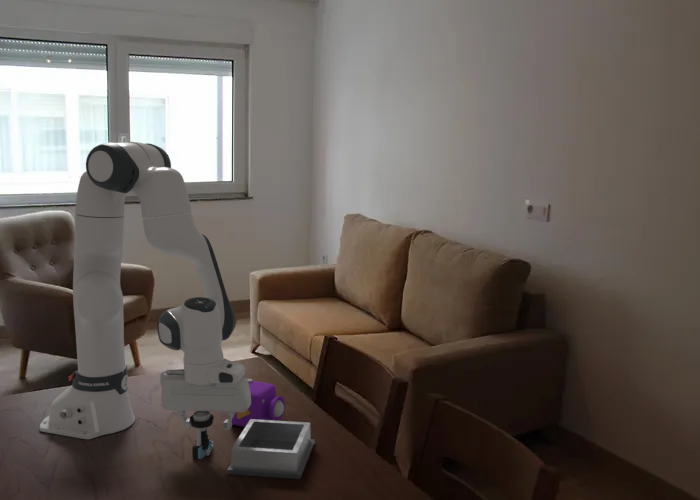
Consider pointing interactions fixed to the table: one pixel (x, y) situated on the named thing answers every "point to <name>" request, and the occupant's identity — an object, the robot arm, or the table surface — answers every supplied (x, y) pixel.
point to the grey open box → (272, 449)
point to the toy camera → (261, 404)
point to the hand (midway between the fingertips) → (207, 427)
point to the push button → (201, 433)
